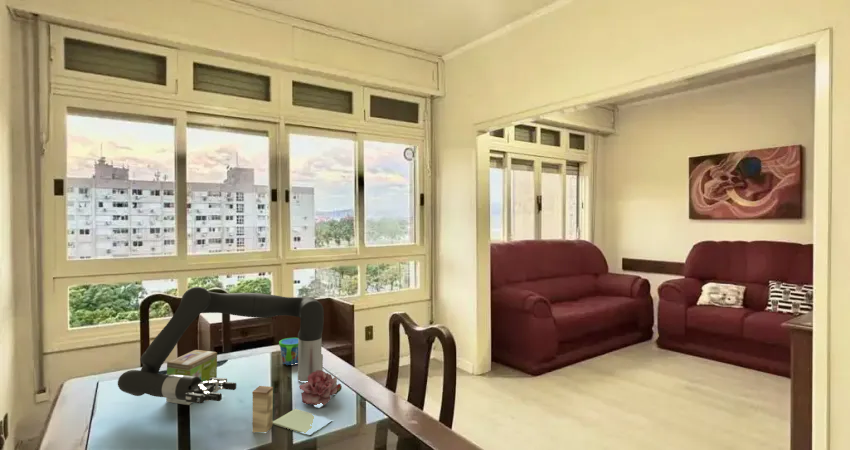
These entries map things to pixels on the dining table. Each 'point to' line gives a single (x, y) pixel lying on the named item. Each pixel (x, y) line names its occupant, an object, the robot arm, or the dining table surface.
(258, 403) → the beech block
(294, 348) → the snack cup
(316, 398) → the flower
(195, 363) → the tea box
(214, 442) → the dining table surface
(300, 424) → the felt mat
